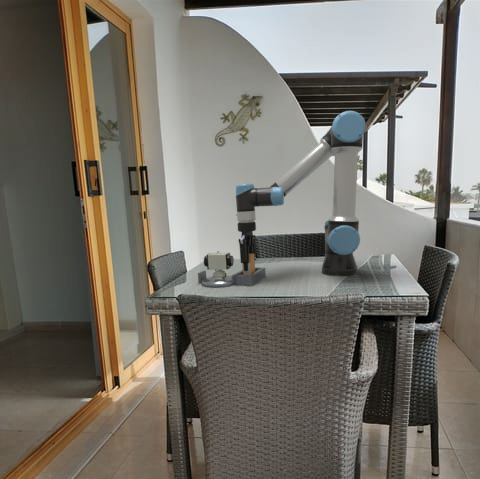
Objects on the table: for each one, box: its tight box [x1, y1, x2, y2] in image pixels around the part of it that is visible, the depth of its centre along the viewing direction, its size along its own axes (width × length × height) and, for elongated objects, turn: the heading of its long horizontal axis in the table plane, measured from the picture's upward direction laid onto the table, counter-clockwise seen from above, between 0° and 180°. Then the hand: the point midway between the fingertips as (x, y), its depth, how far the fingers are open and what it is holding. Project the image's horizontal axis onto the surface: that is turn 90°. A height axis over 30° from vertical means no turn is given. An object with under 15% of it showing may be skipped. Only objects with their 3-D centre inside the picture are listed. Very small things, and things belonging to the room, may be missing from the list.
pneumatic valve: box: [203, 250, 235, 280], centre depth 148 cm, size 6×12×12 cm, turn 76°
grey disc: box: [197, 270, 241, 289], centre depth 148 cm, size 18×15×4 cm
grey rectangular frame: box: [231, 266, 267, 287], centre depth 149 cm, size 9×17×4 cm, turn 157°
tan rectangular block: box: [241, 254, 256, 275], centre depth 149 cm, size 4×4×10 cm
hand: (249, 276), depth 149 cm, fingers closed on tan rectangular block, 4 cm apart
